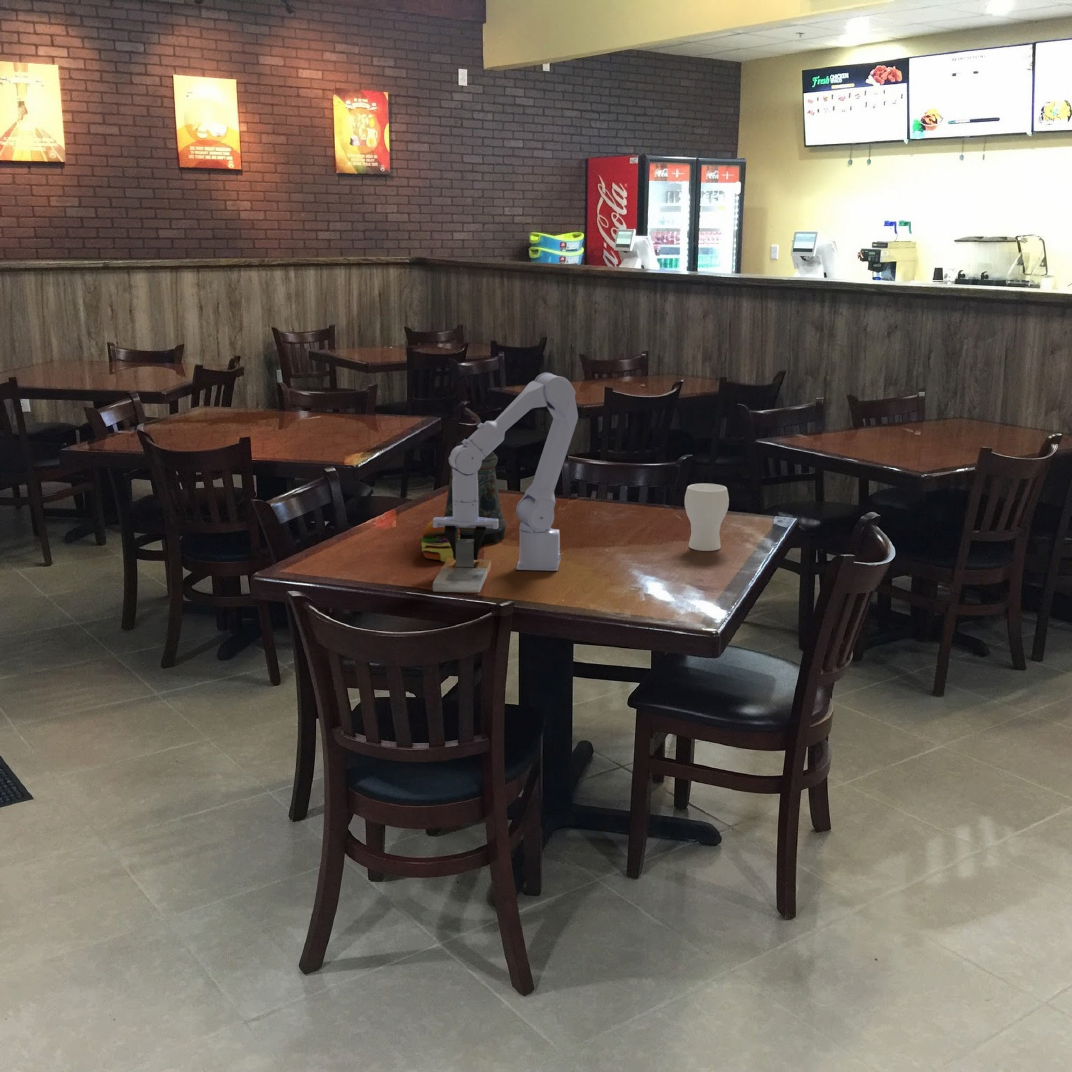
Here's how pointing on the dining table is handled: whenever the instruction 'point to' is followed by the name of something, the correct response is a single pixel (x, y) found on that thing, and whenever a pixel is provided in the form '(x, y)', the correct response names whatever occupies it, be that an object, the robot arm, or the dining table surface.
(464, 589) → the grey flat rectangular block
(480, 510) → the beer stein
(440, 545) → the cheeseburger
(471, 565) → the block
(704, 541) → the cup
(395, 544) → the dining table surface
